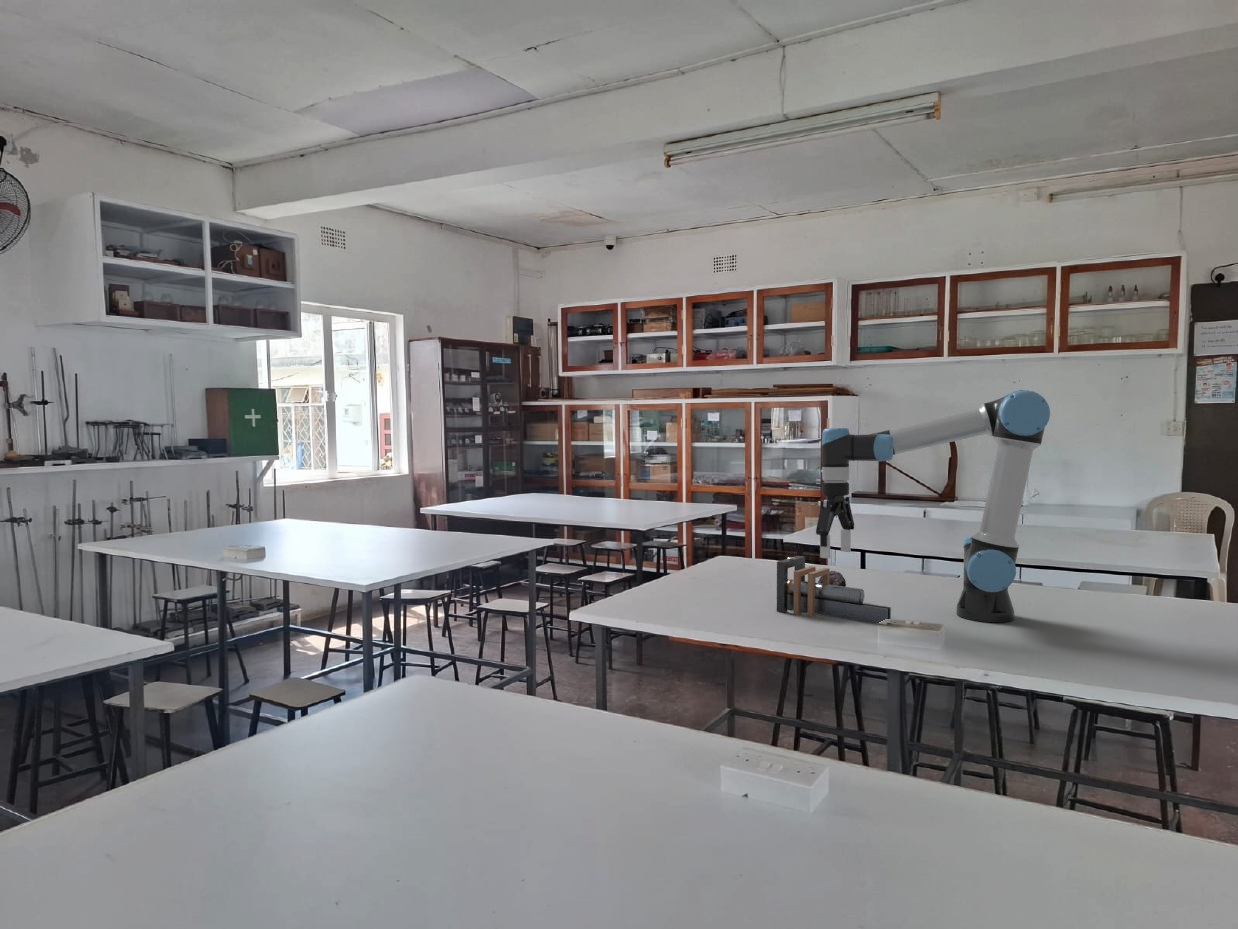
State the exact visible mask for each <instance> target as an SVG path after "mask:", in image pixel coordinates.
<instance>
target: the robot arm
mask: <svg viewBox="0 0 1238 929" xmlns="http://www.w3.org/2000/svg"><path fill="white" fill-rule="evenodd" d="M1050 418H1051V408H1050V406H1049V403H1048V401H1047V400H1046V399H1045V397H1043V396H1042V395H1041V394H1039V393H1038V392H1036V391H1034V390H1029V389H1027V390H1025V389H1019V390H1016V391H1012V392H1011V393H1008V394H1006V395H1005V396H1002V397H1000V398H998V399H994V400H992V401H989V402H988V401H987V402H985V403H984V402H983V403H982V404H981V405H980V407H978V408H975V409H970V410H967V411H966V410H965V411H962V412H958V413H953V414H950V415H949V414H948V415H945V416H942V417H936V418H932V419H929V420H924V421H921V422H916V423H913V424H909V425H905V426H900V427H895V428H891V429H888V430H883V431H879V432H873V433H869V434H852V433H850V430H849V428H848V427H830V428H829V427H826V428H824V429H823V430H822V433H821V434H822V436H821V438H822V439H821V464H822V465H821V470H820V472H821V473H822V474H821V476H822V477H821V478H822V479H821V480H822V481H823V482H822V483H821V493H822V495H823V496H826V499H821V501H820V509H819V514H818V518H817V523H816V524H817V525H816V529H815V534H816V535H817V536H819V552H820V553H819V558H820V559H831V535H830V531H831V528H832V525H833V522H834V519H835V517H836V516H837V518H838V521H839V523H840V526H841V529H840V552H844V553H845V552H846V553H851V552H852V550H851V543H852V542H851V541H852V540H851V539H852V538H851V534H852V533H851V530H853V531H854V529H855V522H854V517H853V514H852V513H853V511H852V508H851V504H850V496H849V494H850V483H849V482H848V481H849V480H850V464H849V463H850V462H851V461H852V462H857V461H858V462H861V461H862V462H880V463H881V462H885V461H887V462H889V461H891V460H893V459H894V458H893V457H894V455H900V454H903V453H907V452H912V451H916V450H920V449H926V448H931V447H935V446H938V445H943V444H948V443H952V442H956V441H961V440H965V439H971V438H975V437H978V436H984V435H987V436H989V437H992V438H993V439H994V441H995V442H996V444H997V447H996V452H995V456H994V462H993V466H992V470H991V474H990V475H991V476H990V480H989V485H988V490H987V495H986V500H985V503H984V509H983V513H982V519H981V524H980V529H979V531H978V532H977V533H975V534H973V535H972V536H966V537H965V538H964V541H963V543H964V544H963V546H962V547H963V588H962V591H961V594H960V596H959V599H958V602H957V603H956V612H955V613H956V615H957V616H958V617H961V618H963V619H967V620H971V621H977V622H986V623H1007V622H1011V621H1014V620H1015V609H1014V606H1013V602H1012V600H1011V597H1010V594H1009V587H1010V586H1011V585H1012V584H1013V582H1014V581H1015V578H1016V576H1017V575H1016V574H1017V567H1016V564H1017V557H1018V553H1019V548H1020V545H1019V543H1018V542H1017V541H1016V539H1015V537H1016V532H1017V527H1018V522H1019V518H1020V515H1021V510H1022V503H1023V499H1024V496H1025V495H1024V494H1025V490H1026V486H1027V482H1028V477H1029V472H1030V466H1031V462H1032V457H1033V452H1034V450H1035V449H1037V448H1039V447H1040V446H1041V445H1042V441H1043V436H1044V434H1045V433H1044V432H1045V428H1046V427H1047V426H1048V422H1050Z"/></svg>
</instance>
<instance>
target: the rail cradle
mask: <svg viewBox="0 0 1238 929" xmlns="http://www.w3.org/2000/svg"><path fill="white" fill-rule="evenodd" d="M788 610H790V611H791V610H792V611H794V595H793V594H788ZM801 612H802V613H808V597H806V596H801ZM815 615H821V616H827V617H834V618H839V619H846V620H853V621H856V622H857V621H859V622H864V623H870V624H876V623H879V622H881V621H883V620H885V619H891V620H892V608H891V606H886V605H885V606H884V605H878V604H871V603H865V602H863V603H862V604H861V605H860V604H853V603H847V602H840V601H833V600H826V599H820V598H815Z"/></svg>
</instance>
